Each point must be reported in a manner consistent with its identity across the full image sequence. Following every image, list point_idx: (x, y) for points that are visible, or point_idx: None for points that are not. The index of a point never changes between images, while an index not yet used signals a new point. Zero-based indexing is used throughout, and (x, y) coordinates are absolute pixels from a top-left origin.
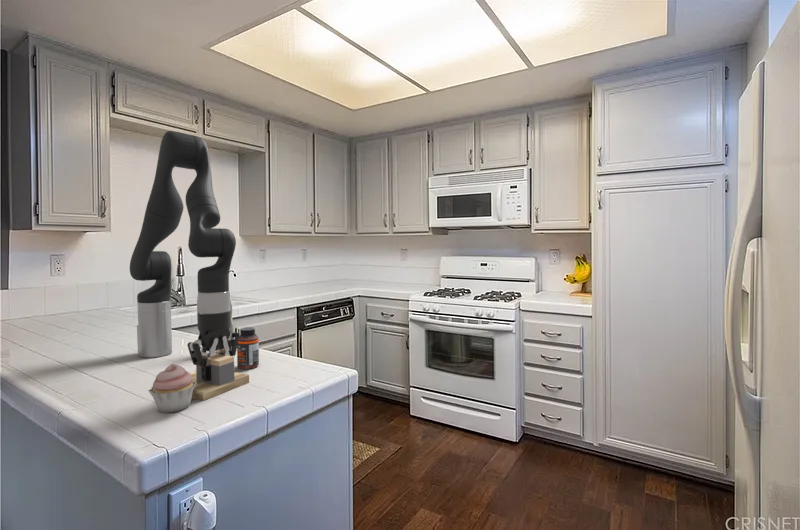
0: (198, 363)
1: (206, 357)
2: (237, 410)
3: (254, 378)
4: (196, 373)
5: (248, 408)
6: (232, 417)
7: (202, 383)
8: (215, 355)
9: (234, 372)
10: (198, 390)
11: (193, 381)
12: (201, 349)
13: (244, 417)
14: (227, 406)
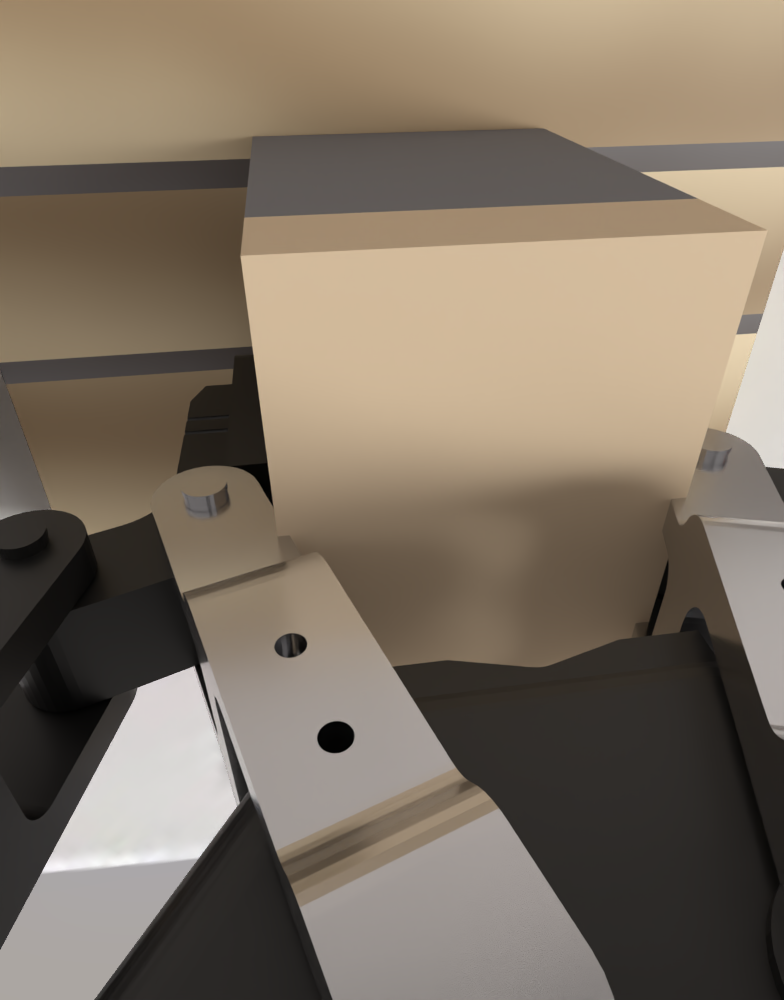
0: (16, 693)
1: (364, 506)
2: (165, 791)
3: (781, 415)
4: (252, 156)
5: (229, 805)
6: (82, 835)
7: (236, 320)
8: (567, 524)
9: (750, 307)
10: (63, 495)
11: (207, 108)
12: (220, 700)
13: (130, 864)
14: (163, 717)
